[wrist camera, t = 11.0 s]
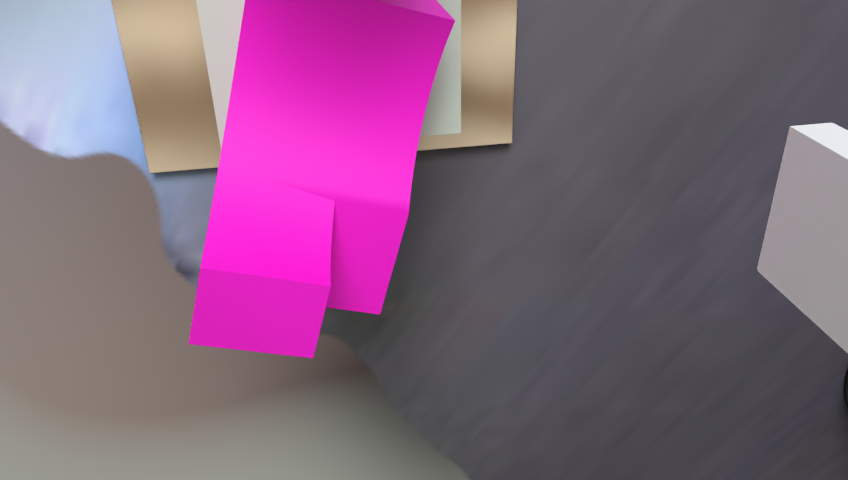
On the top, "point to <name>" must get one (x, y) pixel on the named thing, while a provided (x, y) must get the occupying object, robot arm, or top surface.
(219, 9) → the tower top
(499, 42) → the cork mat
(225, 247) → the toy block
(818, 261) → the robot arm
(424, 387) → the top surface
